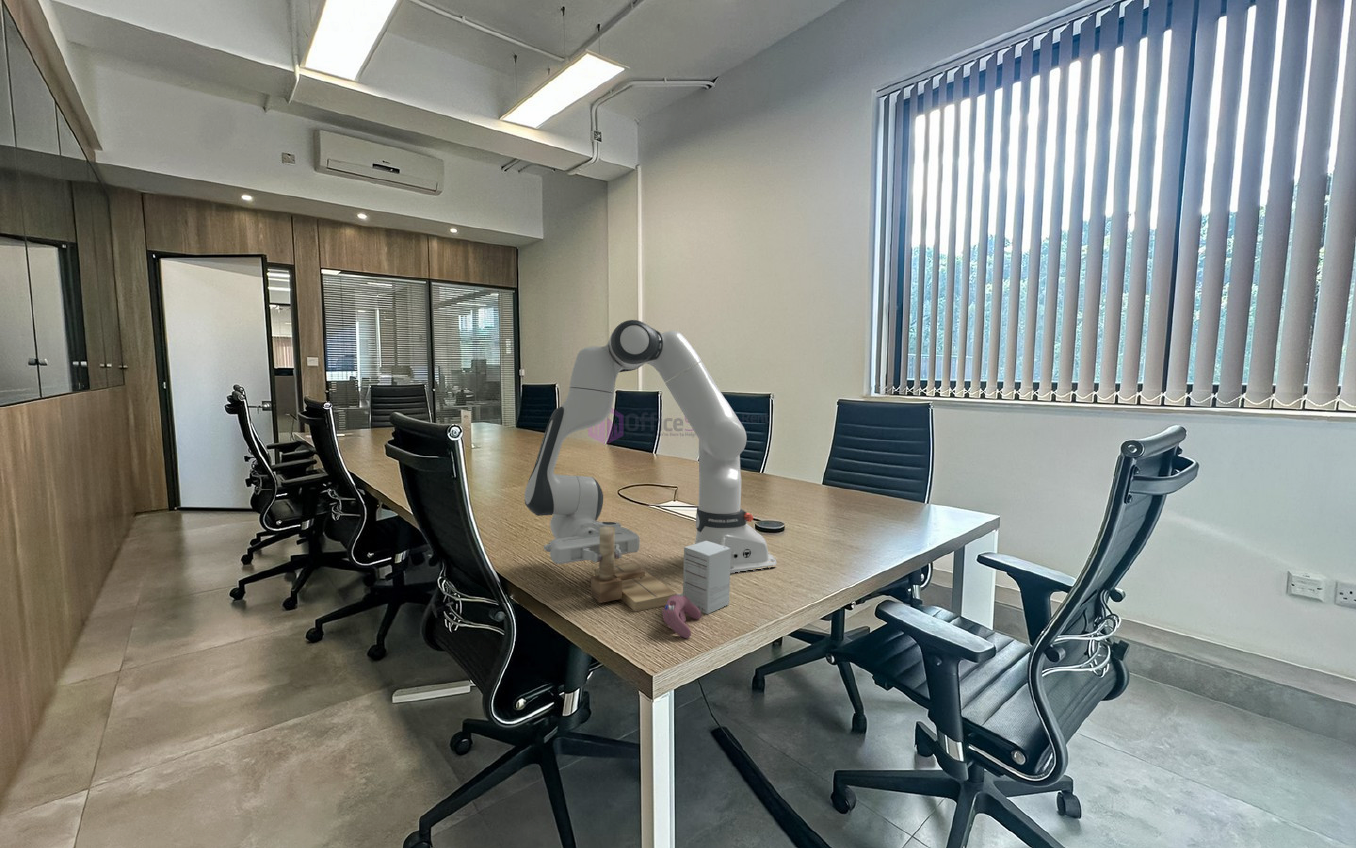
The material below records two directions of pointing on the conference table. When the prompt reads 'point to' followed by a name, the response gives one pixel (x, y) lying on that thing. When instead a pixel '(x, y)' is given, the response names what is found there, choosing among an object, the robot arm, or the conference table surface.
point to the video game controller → (680, 614)
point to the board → (642, 589)
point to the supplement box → (707, 575)
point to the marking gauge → (609, 570)
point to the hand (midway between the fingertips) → (608, 556)
